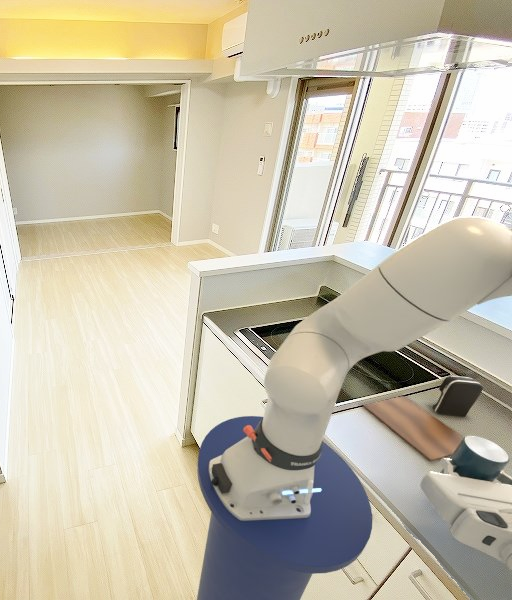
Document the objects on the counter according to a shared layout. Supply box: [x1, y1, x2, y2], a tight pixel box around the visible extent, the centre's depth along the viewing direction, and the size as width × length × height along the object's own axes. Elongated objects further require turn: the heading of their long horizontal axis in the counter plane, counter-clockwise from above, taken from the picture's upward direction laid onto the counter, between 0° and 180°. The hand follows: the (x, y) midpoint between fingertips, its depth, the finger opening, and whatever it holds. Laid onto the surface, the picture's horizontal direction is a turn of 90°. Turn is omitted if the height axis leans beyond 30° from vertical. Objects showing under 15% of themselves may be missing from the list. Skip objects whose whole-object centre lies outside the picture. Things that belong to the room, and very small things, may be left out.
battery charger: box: [432, 375, 484, 418], centre depth 88 cm, size 7×4×11 cm, turn 77°
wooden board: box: [363, 395, 464, 462], centre depth 86 cm, size 14×18×1 cm
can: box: [439, 435, 510, 482], centre depth 63 cm, size 6×6×12 cm
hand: (467, 463), depth 63 cm, fingers closed on can, 6 cm apart
